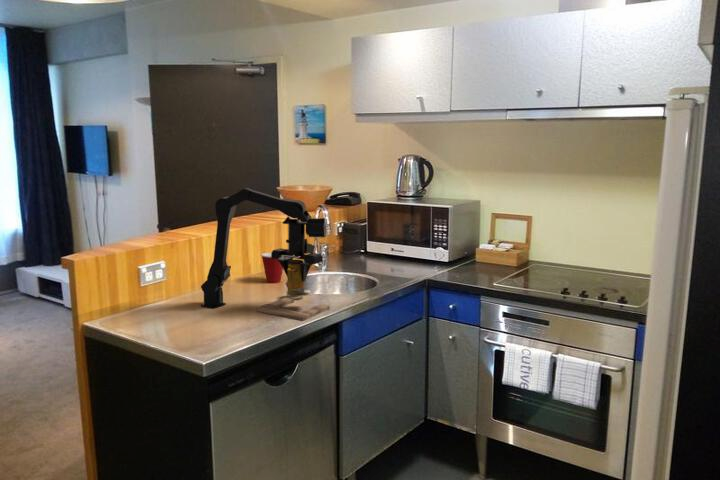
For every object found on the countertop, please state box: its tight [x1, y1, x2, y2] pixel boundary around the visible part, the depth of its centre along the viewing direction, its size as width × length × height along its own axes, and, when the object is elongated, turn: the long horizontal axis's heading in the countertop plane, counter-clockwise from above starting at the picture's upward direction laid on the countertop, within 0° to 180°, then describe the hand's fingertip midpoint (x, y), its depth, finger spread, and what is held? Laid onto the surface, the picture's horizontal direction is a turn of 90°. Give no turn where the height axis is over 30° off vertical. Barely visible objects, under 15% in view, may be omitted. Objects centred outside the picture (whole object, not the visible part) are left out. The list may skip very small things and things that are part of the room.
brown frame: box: [256, 297, 330, 321], centre depth 207 cm, size 16×20×1 cm
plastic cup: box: [260, 252, 284, 284], centre depth 246 cm, size 11×11×12 cm
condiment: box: [286, 258, 312, 297], centre depth 206 cm, size 7×8×12 cm
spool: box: [286, 284, 304, 301], centre depth 222 cm, size 6×6×5 cm
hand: (296, 279), depth 207 cm, fingers closed on condiment, 6 cm apart
